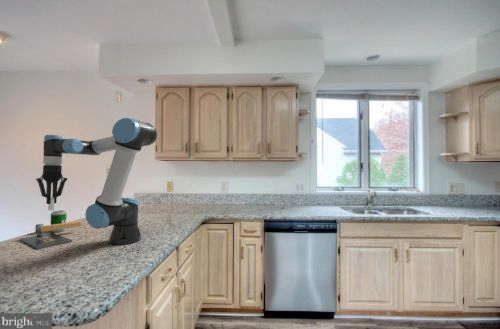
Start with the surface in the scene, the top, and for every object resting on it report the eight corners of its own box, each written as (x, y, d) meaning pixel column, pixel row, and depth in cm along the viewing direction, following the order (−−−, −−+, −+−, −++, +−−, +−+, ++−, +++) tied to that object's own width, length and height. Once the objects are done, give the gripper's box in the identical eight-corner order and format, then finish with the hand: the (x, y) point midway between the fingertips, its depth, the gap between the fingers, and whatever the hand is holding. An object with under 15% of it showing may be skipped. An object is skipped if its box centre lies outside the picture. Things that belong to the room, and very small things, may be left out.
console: (71, 241, 127) (72, 235, 127) (37, 249, 115) (38, 242, 115) (52, 234, 139) (52, 229, 139) (20, 240, 127) (20, 234, 127)
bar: (79, 225, 146) (79, 219, 146) (80, 226, 144) (80, 220, 144) (35, 231, 132) (35, 224, 132) (35, 233, 130) (35, 225, 130)
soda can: (57, 233, 142) (57, 212, 142) (47, 232, 144) (47, 212, 144) (69, 230, 150) (69, 210, 150) (59, 229, 151) (59, 209, 151)
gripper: (64, 164, 134) (63, 207, 134) (33, 164, 123) (32, 211, 123) (70, 165, 130) (69, 209, 129) (39, 164, 119) (37, 212, 118)
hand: (51, 210), depth 126 cm, fingers closed
